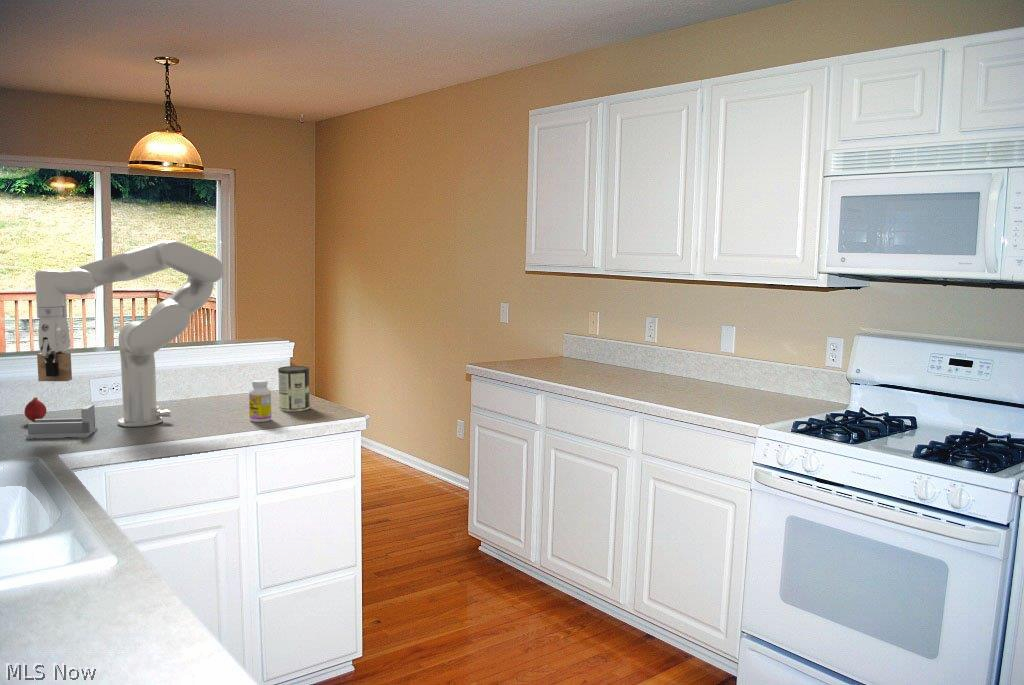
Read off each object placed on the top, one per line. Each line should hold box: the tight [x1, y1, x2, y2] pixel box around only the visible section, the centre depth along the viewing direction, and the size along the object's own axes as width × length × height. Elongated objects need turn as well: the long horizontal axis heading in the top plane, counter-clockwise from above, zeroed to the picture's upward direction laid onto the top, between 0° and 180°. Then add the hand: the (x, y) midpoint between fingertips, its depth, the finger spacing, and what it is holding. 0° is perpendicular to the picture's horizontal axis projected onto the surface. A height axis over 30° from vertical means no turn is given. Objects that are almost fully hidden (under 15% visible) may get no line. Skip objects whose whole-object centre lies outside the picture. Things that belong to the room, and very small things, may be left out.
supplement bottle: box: [248, 379, 272, 423], centre depth 255 cm, size 7×7×13 cm
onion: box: [23, 396, 47, 423], centre depth 246 cm, size 6×6×8 cm
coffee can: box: [277, 365, 311, 413], centre depth 273 cm, size 10×10×14 cm
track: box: [25, 404, 98, 440], centre depth 233 cm, size 16×9×8 cm, turn 100°
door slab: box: [36, 352, 73, 382], centre depth 233 cm, size 8×3×8 cm, turn 97°
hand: (55, 374), depth 234 cm, fingers closed on door slab, 3 cm apart
